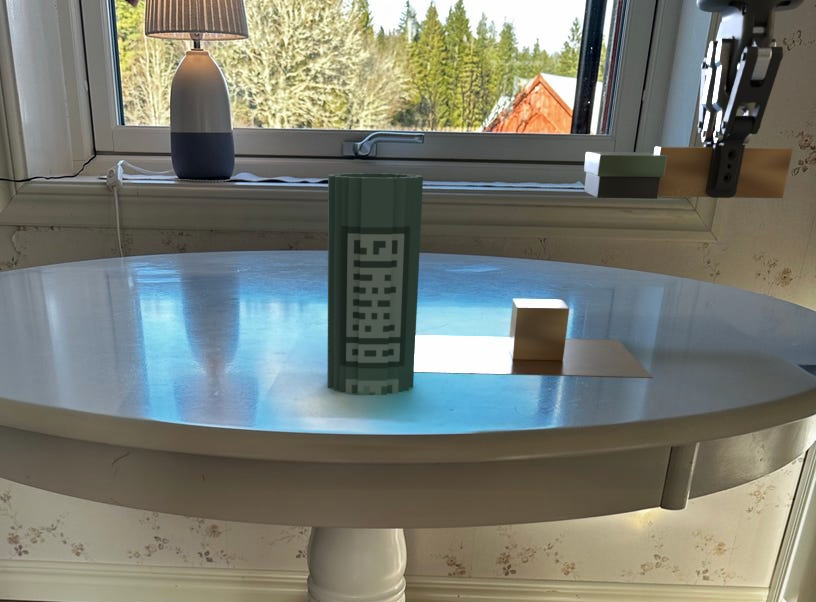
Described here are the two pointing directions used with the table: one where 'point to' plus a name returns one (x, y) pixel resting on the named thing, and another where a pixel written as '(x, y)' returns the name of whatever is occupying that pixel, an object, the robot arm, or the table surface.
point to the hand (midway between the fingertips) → (715, 195)
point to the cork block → (538, 329)
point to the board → (497, 359)
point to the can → (373, 281)
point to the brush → (682, 173)
